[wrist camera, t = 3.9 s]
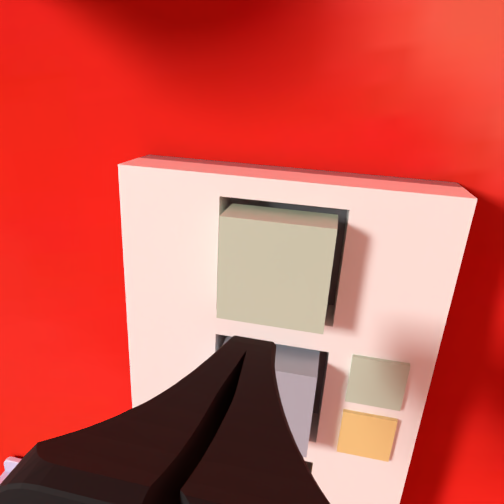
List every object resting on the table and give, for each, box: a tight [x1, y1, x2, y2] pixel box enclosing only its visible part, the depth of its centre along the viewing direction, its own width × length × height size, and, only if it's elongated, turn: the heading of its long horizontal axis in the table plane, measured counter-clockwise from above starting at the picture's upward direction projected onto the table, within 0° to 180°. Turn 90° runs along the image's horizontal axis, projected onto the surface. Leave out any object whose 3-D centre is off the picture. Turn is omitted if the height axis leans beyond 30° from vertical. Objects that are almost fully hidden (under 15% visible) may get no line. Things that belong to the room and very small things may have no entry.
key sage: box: [216, 203, 338, 334], centre depth 17 cm, size 4×4×2 cm
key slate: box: [222, 336, 320, 457], centre depth 20 cm, size 4×4×2 cm
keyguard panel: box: [118, 155, 477, 504], centre depth 21 cm, size 14×20×3 cm
